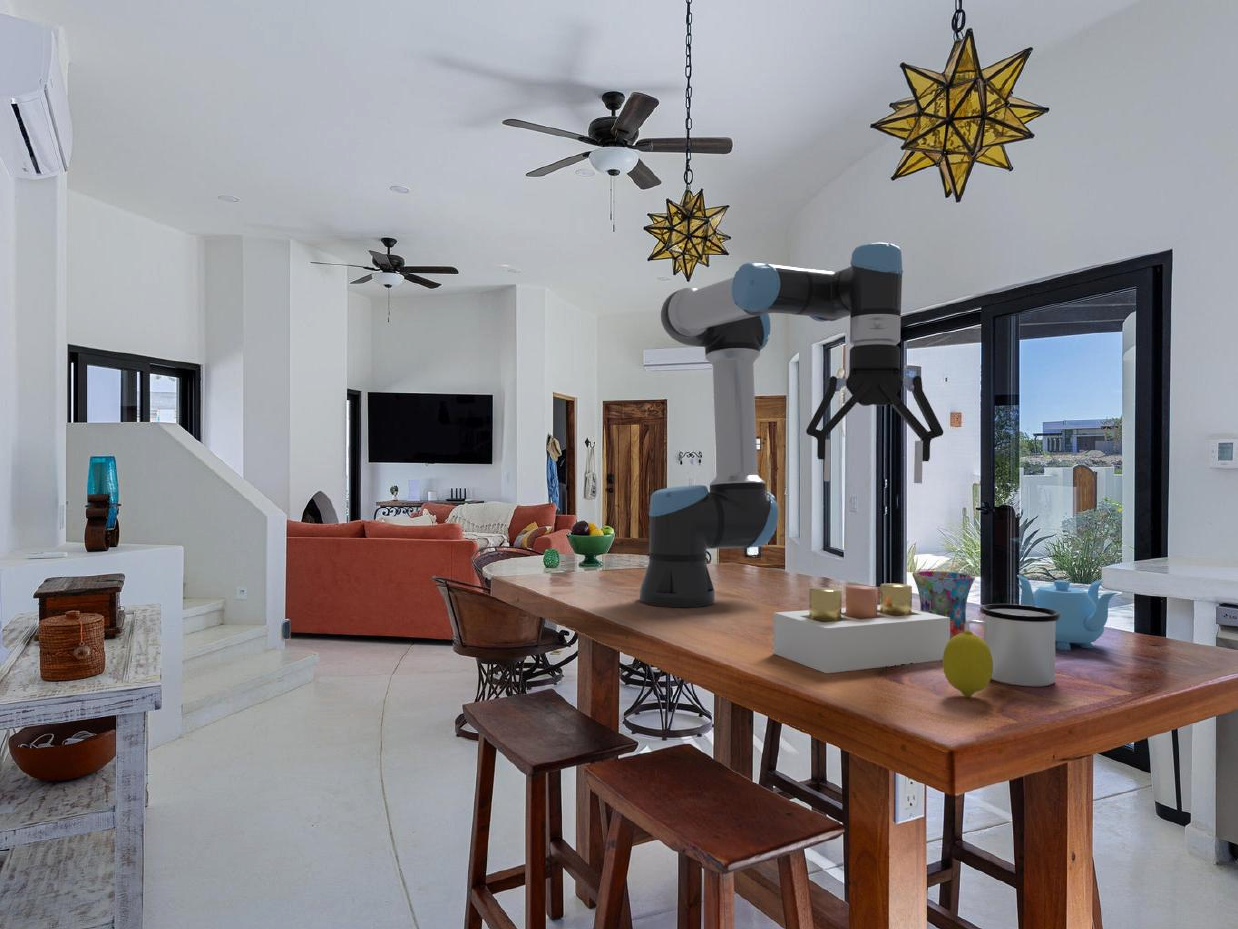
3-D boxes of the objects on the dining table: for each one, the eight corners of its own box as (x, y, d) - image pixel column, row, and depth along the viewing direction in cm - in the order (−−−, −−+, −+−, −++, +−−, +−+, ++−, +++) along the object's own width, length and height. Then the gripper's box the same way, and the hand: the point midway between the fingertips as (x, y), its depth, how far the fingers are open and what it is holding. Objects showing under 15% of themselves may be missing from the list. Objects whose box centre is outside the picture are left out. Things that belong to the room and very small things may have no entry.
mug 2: (1072, 680, 103) (1073, 611, 103) (1040, 693, 97) (1041, 619, 97) (981, 662, 113) (982, 598, 113) (947, 672, 107) (948, 605, 107)
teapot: (1016, 633, 134) (1016, 573, 134) (1107, 641, 128) (1107, 578, 128) (1017, 648, 122) (1017, 582, 123) (1117, 657, 117) (1118, 589, 117)
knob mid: (839, 620, 116) (839, 586, 116) (862, 618, 118) (863, 584, 118) (859, 625, 112) (860, 590, 112) (883, 623, 114) (884, 589, 114)
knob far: (873, 617, 119) (874, 584, 119) (896, 615, 121) (896, 582, 121) (895, 622, 115) (895, 588, 115) (918, 620, 117) (918, 586, 117)
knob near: (802, 623, 114) (803, 588, 114) (827, 621, 115) (828, 586, 116) (822, 629, 110) (822, 593, 110) (847, 627, 111) (848, 591, 111)
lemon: (951, 688, 99) (952, 624, 99) (998, 696, 95) (999, 630, 95) (935, 697, 95) (936, 630, 95) (984, 706, 91) (985, 637, 91)
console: (773, 653, 116) (774, 612, 116) (889, 642, 125) (890, 604, 125) (826, 673, 105) (826, 628, 105) (949, 659, 114) (950, 617, 114)
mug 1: (954, 650, 120) (955, 580, 120) (899, 639, 127) (900, 573, 127) (994, 640, 127) (995, 574, 127) (940, 631, 135) (941, 568, 135)
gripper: (792, 343, 122) (790, 480, 122) (965, 341, 117) (962, 484, 117) (792, 349, 130) (790, 479, 130) (955, 348, 124) (952, 483, 125)
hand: (871, 482), depth 124 cm, fingers open, 13 cm apart
